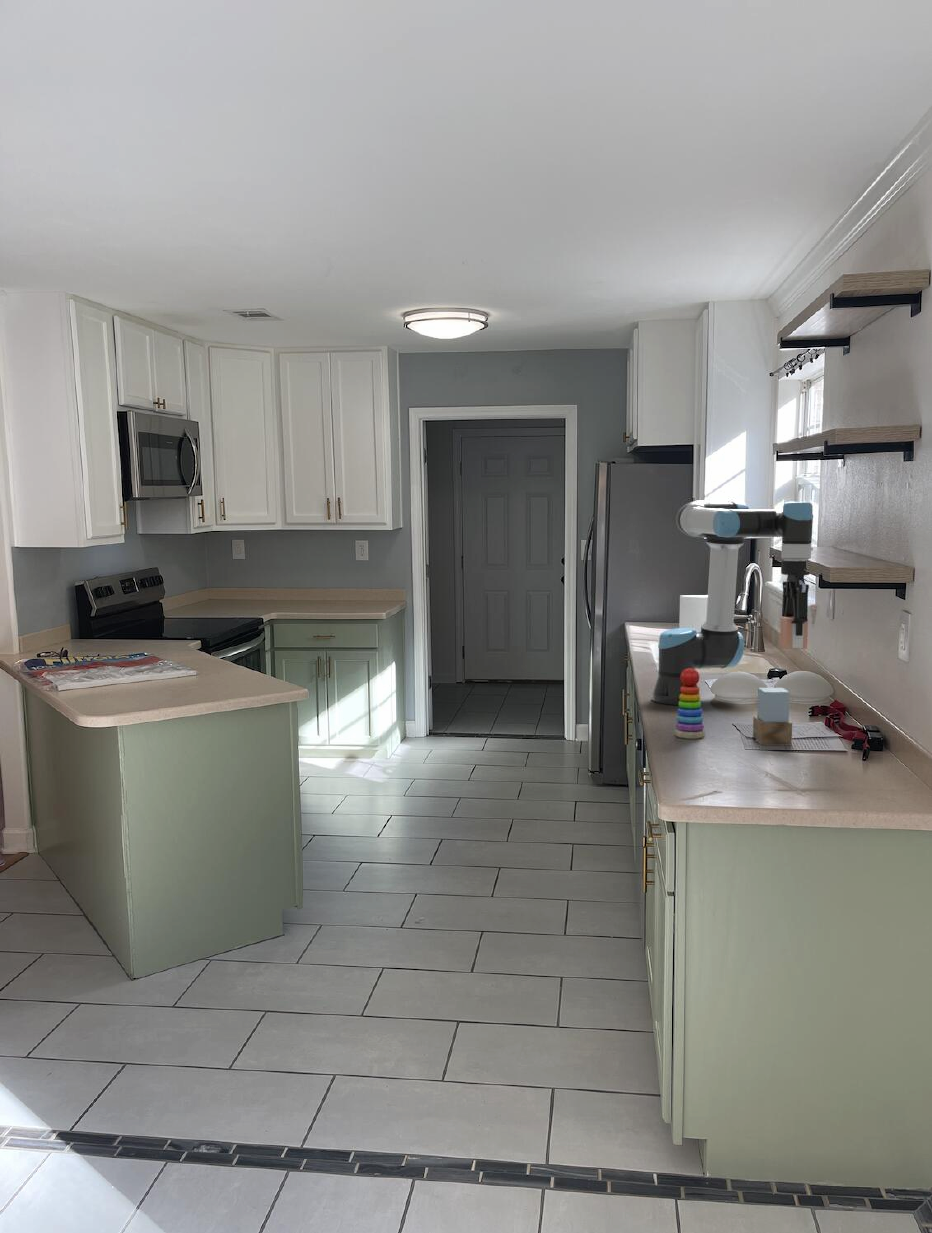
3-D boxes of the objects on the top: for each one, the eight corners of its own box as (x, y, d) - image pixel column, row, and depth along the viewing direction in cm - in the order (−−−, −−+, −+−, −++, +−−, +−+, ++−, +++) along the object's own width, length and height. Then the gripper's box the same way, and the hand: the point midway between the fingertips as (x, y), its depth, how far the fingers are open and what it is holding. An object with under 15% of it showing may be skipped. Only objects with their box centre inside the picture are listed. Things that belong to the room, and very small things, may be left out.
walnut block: (760, 745, 255) (761, 722, 254) (752, 738, 263) (753, 716, 262) (791, 745, 255) (792, 722, 254) (782, 738, 263) (783, 716, 262)
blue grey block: (763, 721, 255) (764, 692, 254) (757, 716, 262) (758, 687, 261) (788, 722, 255) (789, 692, 254) (781, 716, 261) (782, 687, 261)
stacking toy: (707, 734, 266) (709, 667, 264) (701, 740, 259) (703, 671, 257) (678, 731, 270) (680, 665, 268) (672, 737, 262) (673, 669, 260)
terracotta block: (786, 648, 258) (787, 618, 257) (779, 645, 263) (780, 616, 263) (807, 648, 258) (808, 618, 257) (800, 645, 263) (801, 616, 263)
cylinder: (728, 667, 380) (730, 597, 377) (685, 668, 379) (686, 597, 376) (713, 661, 397) (715, 593, 394) (672, 661, 396) (673, 593, 393)
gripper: (823, 561, 249) (819, 650, 251) (798, 558, 267) (795, 641, 270) (794, 561, 249) (791, 650, 251) (771, 558, 267) (768, 641, 270)
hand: (793, 645), depth 261 cm, fingers closed on terracotta block, 5 cm apart
